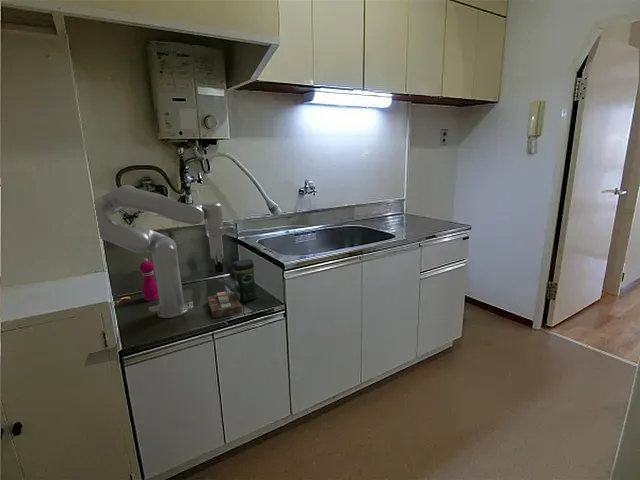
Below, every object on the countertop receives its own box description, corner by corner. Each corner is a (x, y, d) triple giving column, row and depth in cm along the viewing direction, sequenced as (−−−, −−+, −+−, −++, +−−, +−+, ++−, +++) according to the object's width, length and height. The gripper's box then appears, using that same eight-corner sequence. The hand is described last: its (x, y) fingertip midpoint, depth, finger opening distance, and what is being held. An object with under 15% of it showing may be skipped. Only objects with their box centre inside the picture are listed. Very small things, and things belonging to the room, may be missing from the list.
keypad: (213, 318, 154) (212, 311, 153) (208, 302, 170) (207, 296, 169) (242, 312, 158) (241, 305, 157) (234, 297, 174) (233, 291, 174)
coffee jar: (252, 293, 179) (249, 256, 174) (259, 298, 172) (256, 260, 168) (233, 298, 174) (229, 260, 169) (239, 303, 167) (235, 264, 163)
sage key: (222, 314, 157) (221, 307, 156) (221, 310, 160) (220, 304, 160) (232, 312, 158) (231, 305, 157) (230, 308, 162) (229, 302, 161)
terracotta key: (218, 302, 166) (217, 295, 165) (217, 298, 170) (216, 293, 169) (227, 300, 168) (226, 294, 167) (226, 297, 171) (225, 291, 171)
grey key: (220, 306, 161) (219, 300, 161) (218, 303, 165) (218, 297, 164) (229, 304, 163) (228, 298, 162) (228, 301, 166) (227, 295, 166)
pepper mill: (148, 302, 173) (141, 261, 168) (140, 299, 177) (133, 259, 172) (163, 297, 178) (156, 257, 174) (155, 294, 183) (148, 255, 178)
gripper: (204, 229, 166) (209, 268, 170) (207, 236, 153) (212, 278, 157) (221, 227, 169) (225, 266, 173) (226, 233, 155) (230, 275, 159)
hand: (219, 271), depth 165 cm, fingers closed
